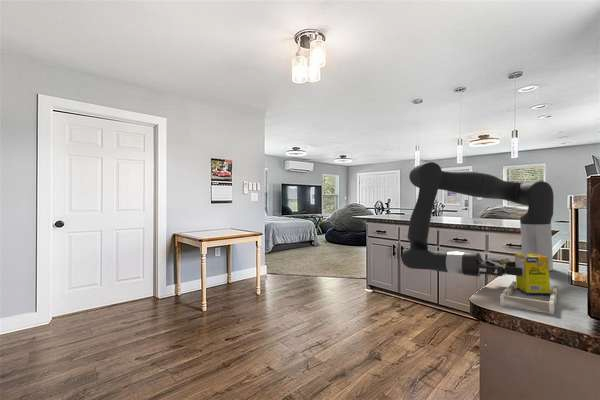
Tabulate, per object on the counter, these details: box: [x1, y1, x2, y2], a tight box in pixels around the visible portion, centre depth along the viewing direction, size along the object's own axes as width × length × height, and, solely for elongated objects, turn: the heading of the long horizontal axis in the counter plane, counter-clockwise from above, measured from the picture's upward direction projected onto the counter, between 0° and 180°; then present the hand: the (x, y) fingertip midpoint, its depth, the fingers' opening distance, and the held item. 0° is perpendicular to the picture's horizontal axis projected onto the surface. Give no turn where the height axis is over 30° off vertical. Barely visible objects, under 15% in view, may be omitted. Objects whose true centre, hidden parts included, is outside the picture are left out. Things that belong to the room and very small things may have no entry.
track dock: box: [499, 280, 559, 315], centre depth 83 cm, size 22×11×2 cm, turn 137°
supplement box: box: [514, 253, 551, 297], centre depth 87 cm, size 6×6×11 cm
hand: (524, 269), depth 88 cm, fingers open, 8 cm apart
